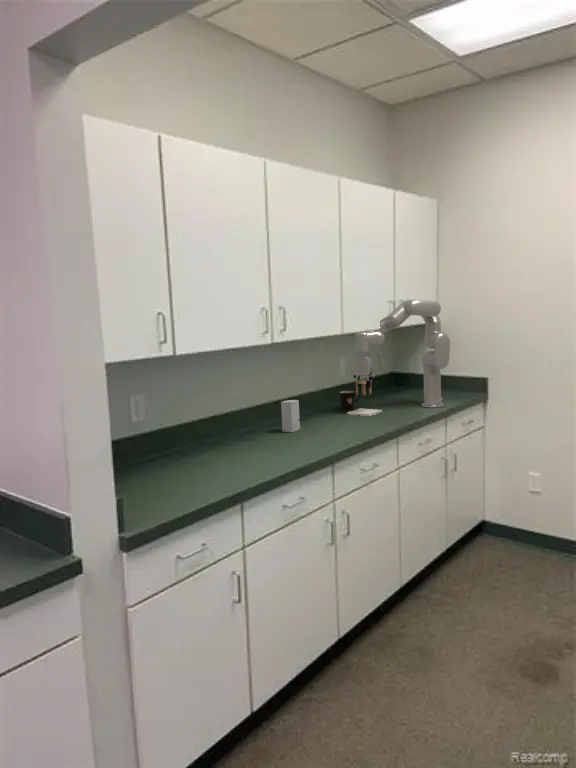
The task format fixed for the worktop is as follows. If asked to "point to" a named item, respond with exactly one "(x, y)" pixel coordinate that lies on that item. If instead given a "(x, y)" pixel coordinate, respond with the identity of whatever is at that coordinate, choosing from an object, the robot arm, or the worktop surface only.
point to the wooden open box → (363, 382)
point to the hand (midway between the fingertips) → (363, 387)
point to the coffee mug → (347, 399)
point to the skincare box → (290, 415)
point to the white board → (364, 412)
